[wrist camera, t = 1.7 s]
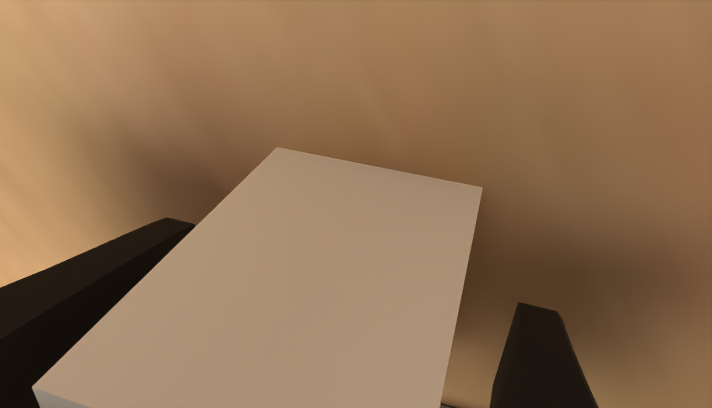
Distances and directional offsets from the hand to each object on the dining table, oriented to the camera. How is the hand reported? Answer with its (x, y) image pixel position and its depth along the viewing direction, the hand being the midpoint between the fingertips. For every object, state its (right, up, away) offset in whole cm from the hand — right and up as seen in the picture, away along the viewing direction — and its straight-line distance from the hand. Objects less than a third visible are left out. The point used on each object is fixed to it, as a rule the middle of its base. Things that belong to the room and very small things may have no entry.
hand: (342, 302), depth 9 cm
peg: (+1, +1, +1) cm, 2 cm away
